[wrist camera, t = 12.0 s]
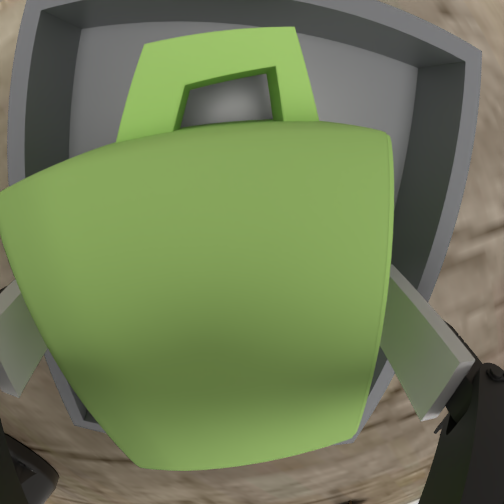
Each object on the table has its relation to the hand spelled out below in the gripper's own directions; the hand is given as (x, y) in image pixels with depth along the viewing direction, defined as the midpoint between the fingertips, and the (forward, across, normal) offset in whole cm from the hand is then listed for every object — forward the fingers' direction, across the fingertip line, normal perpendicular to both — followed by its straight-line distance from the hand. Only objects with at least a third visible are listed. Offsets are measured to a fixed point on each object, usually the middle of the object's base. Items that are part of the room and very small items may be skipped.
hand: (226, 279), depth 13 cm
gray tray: (+4, 0, 0) cm, 4 cm away
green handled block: (+3, 0, 0) cm, 3 cm away
